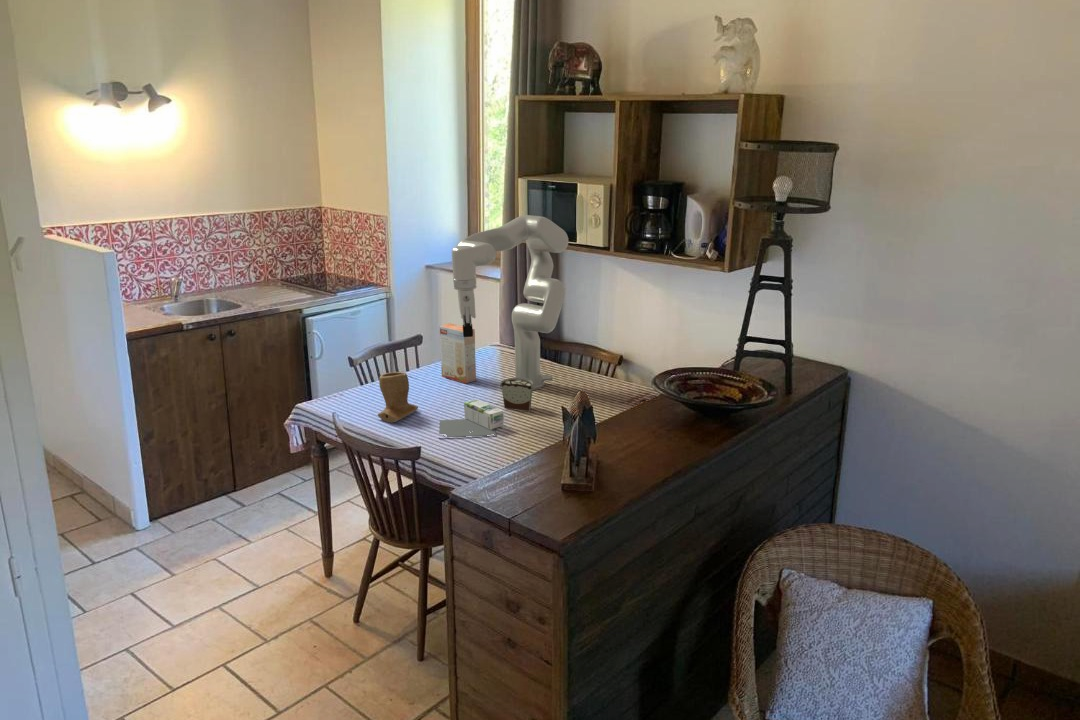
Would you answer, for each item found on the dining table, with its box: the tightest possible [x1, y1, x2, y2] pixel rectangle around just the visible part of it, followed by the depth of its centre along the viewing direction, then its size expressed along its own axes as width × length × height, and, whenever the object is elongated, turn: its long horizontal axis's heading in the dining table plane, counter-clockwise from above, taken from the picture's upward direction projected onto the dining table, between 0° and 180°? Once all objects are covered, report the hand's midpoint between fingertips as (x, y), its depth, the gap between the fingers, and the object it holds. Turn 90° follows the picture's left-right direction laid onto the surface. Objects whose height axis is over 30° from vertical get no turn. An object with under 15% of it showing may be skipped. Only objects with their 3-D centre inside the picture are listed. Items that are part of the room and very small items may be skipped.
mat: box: [438, 418, 497, 437], centre depth 260 cm, size 18×15×1 cm
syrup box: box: [463, 398, 505, 430], centre depth 263 cm, size 6×6×14 cm
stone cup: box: [377, 371, 419, 423], centre depth 269 cm, size 15×12×15 cm
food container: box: [499, 377, 534, 412], centre depth 277 cm, size 12×6×10 cm, turn 71°
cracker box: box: [439, 323, 477, 384], centre depth 306 cm, size 14×6×21 cm, turn 49°
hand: (468, 336), depth 268 cm, fingers closed
